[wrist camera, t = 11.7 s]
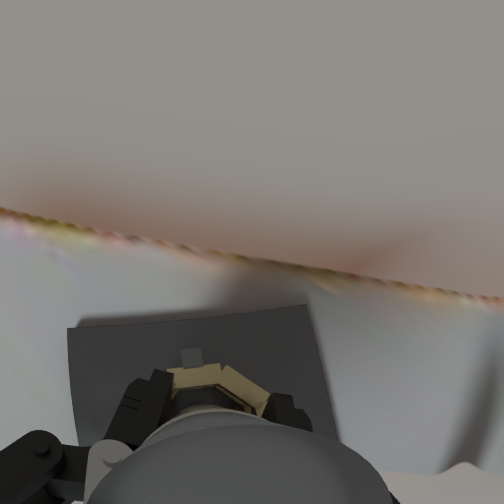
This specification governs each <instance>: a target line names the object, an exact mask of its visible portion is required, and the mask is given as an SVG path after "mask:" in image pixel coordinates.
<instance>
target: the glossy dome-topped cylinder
mask: <svg viewBox="0 0 504 504" xmlns="http://www.w3.org/2000/svg"><path fill="white" fill-rule="evenodd" d="M87 504H393V502H392V498H391V495H390V493H389V490H388V488H387V486H386V484H385V482H384V481H383V479H382V477H381V476H380V474H379V473H378V472H377V471H376V470H375V469H374V467H373V466H372V465H371V464H370V463H369V462H368V461H367V460H365V459H364V458H363V457H362V456H361V455H359V454H358V453H357V452H355V451H354V450H352V449H350V448H349V447H347V446H345V445H344V444H342V443H339V442H337V441H335V440H333V439H330V438H328V437H326V436H323V435H319V434H316V433H313V432H309V431H306V430H302V429H297V428H293V427H289V426H285V425H281V424H277V423H273V422H269V421H267V420H265V419H263V418H261V417H258V416H256V415H253V414H249V413H245V412H241V411H238V410H232V409H226V408H223V407H220V406H217V405H214V404H211V403H195V404H192V405H190V406H188V407H186V408H185V409H183V410H182V411H181V412H180V413H179V414H178V415H176V416H175V417H174V418H172V419H171V420H169V421H167V422H166V423H164V424H163V425H162V426H160V427H159V428H158V429H157V430H155V431H154V432H153V433H152V434H151V435H150V436H149V437H148V438H147V439H146V440H145V441H144V442H143V444H142V445H141V446H140V447H139V448H137V449H136V450H135V451H134V452H132V453H131V454H130V455H129V456H128V457H126V458H125V459H124V460H122V461H121V462H120V463H119V464H117V465H116V466H115V467H114V468H112V469H111V470H110V471H109V473H108V474H107V475H106V476H105V477H104V478H103V479H102V480H101V481H100V482H99V483H98V485H97V486H96V488H95V489H94V491H93V492H92V493H91V495H90V497H89V500H88V502H87Z"/></svg>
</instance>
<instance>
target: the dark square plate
mask: <svg viewBox="0 0 504 504" xmlns="http://www.w3.org/2000/svg"><path fill="white" fill-rule="evenodd" d="M67 342H68V363H69V377H70V388H71V397H72V405H73V412H74V419H75V426H76V432H77V437H78V443H79V447H88V446H92V445H94V444H95V443H97V442H98V441H101V440H102V439H103V438H104V436H105V434H106V432H107V430H108V428H109V425H110V423H111V421H112V419H113V417H114V414H115V412H116V410H117V408H118V406H119V404H120V401H121V399H122V397H123V395H124V393H125V391H126V389H127V387H128V385H129V384H130V383H132V382H133V381H134V380H136V379H137V378H141V379H144V380H148V381H149V380H150V378H151V375H152V373H153V370H154V369H155V368H156V369H159V370H163V371H167V372H171V373H174V381H173V389H172V397H171V405H170V410H169V414H168V418H167V421H169V420H171V419H172V418H174V417H175V416H176V415H178V414H179V413H180V412H181V411H182V410H183V409H185V408H186V407H188V406H190V405H192V404H195V403H211V404H214V405H217V406H220V407H223V408H226V409H232V410H238V411H241V412H245V413H249V414H253V415H256V416H258V417H261V416H262V413H263V411H264V409H265V406H266V404H267V401H268V399H269V396H270V394H271V393H272V392H273V393H281V394H289V395H292V397H293V401H294V407H295V408H296V409H303V410H304V411H305V413H306V414H307V415H308V417H309V418H310V420H311V424H312V428H313V433H316V434H319V435H323V436H326V437H328V438H330V439H333V440H335V441H337V436H336V431H335V426H334V421H333V417H332V412H331V407H330V403H329V398H328V393H327V389H326V384H325V380H324V376H323V371H322V367H321V362H320V358H319V354H318V350H317V345H316V341H315V337H314V333H313V329H312V325H311V321H310V317H309V313H308V309H307V305H306V304H304V305H297V306H291V307H284V308H278V309H271V310H264V311H256V312H249V313H241V314H233V315H225V316H217V317H208V318H199V319H189V320H180V321H169V322H158V323H146V324H133V325H118V326H102V327H82V328H67ZM337 442H338V441H337Z"/></svg>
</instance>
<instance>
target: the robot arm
mask: <svg viewBox="0 0 504 504" xmlns="http://www.w3.org/2000/svg"><path fill="white" fill-rule="evenodd" d="M173 381H174V373H171V372H167V371H163V370H159V369H156V368H155V369H154V370H153V373H152V375H151V378H150V380H149V381H148V380H144V379H141V378H137V379H136V380H134V381H133V382H132V383H130V384H129V385H128V387H127V389H126V391H125V393H124V395H123V397H122V399H121V401H120V404H119V406H118V408H117V410H116V412H115V414H114V417H113V419H112V421H111V423H110V425H109V428H108V430H107V432H106V434H105V436H104V438H103V439H102V440H101V441H98V442H97V443H95V444H94V445H92V446H88V447H79V446H71V445H64V444H61V442H60V441H59V439H58V438H57V437H56V436H54V435H53V434H51V433H49V432H47V431H43V430H35V431H31V432H29V433H27V434H26V435H24V436H23V437H21V438H20V439H18V440H17V441H15V442H14V443H12V444H11V445H9V446H8V447H6V448H5V449H3V450H2V451H0V504H71V503H72V502H73V501H74V500H75V501H83V502H84V504H87V502H88V500H89V497H90V495H91V493H92V492H93V491H94V489H95V488H96V486H97V485H98V483H99V482H100V481H101V480H102V479H103V478H104V477H105V476H106V475H107V474H108V473H109V471H110V470H111V469H112V468H114V467H115V466H116V465H117V464H119V463H120V462H121V461H122V460H124V459H125V458H126V457H128V456H129V455H130V454H131V453H132V452H134V451H135V450H136V449H137V448H139V447H140V446H141V445H142V444H143V442H144V441H145V440H146V439H147V438H148V437H149V436H150V435H151V434H152V433H153V432H154V431H155V430H157V429H158V428H159V427H160V426H162V425H163V424H164V423H166V422H167V418H168V414H169V410H170V405H171V397H172V389H173ZM261 418H263V419H265V420H267V421H269V422H273V423H277V424H281V425H285V426H289V427H293V428H297V429H302V430H306V431H309V432H313V428H312V424H311V420H310V418H309V417H308V415H307V414H306V413H305V411H304V410H303V409H296V408H295V407H294V401H293V397H292V395H289V394H281V393H273V392H272V393H271V394H270V396H269V399H268V401H267V404H266V406H265V409H264V411H263V413H262V416H261ZM389 493H390V492H389ZM390 495H391V498H392V502H393V504H400V503H399V502H398V500H397V499H396V498H395V497H394V496H393V495H392V493H390Z"/></svg>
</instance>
